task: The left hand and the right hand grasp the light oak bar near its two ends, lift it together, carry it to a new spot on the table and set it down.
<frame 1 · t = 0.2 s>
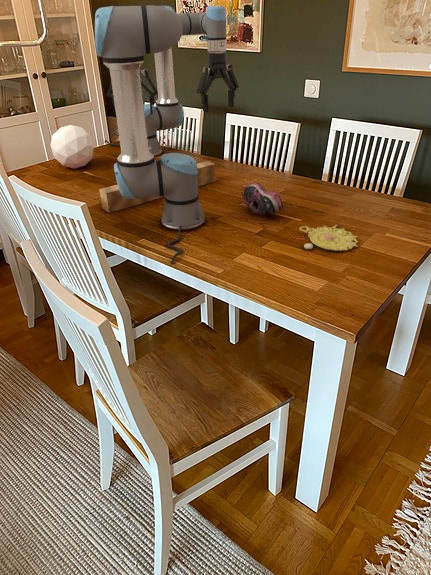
left hand: (218, 109, 186), 27 cm above the table, tool pointing down, fingers open, 13 cm apart
right hand: (135, 114, 180), 28 cm above the table, tool pointing down, fingers open, 13 cm apart
bar: (162, 194, 180), on the table
athletic shoe: (257, 211, 163), on the table
decorative object: (328, 239, 142), on the table
sphere: (76, 166, 214), on the table
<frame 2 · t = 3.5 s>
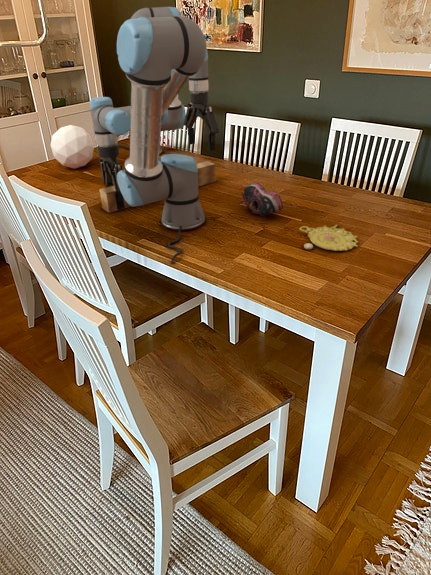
left hand: (201, 147, 183), 15 cm above the table, tool pointing down, fingers open, 13 cm apart
right hand: (117, 206, 169), 1 cm above the table, tool pointing down, fingers closed on bar, 6 cm apart
bar: (162, 194, 180), on the table, touching right hand
everything else where it was.
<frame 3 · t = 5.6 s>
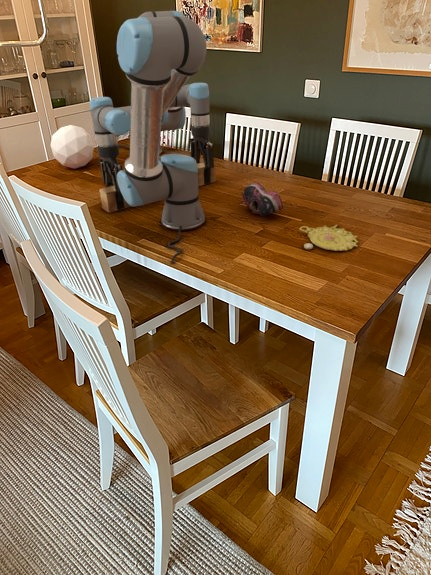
left hand: (202, 181, 190), 1 cm above the table, tool pointing down, fingers closed on bar, 6 cm apart
right hand: (117, 206, 169), 1 cm above the table, tool pointing down, fingers closed on bar, 6 cm apart
bar: (162, 194, 180), on the table, touching right hand, left hand
everything else where it was.
when the left hand's fingers open (2 cm above the table, at t = 13.5 s): bar stays where it is, on the table.
when the right hand's fingers open (2 cm above the table, at t = 13.5 s): bar stays where it is, on the table.
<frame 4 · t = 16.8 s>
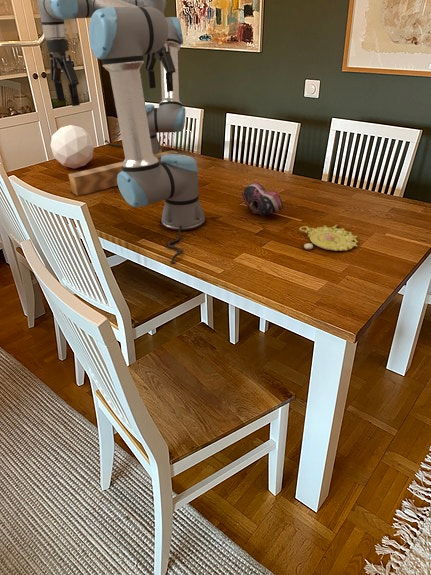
left hand: (161, 89, 188), 35 cm above the table, tool pointing down, fingers open, 13 cm apart
right hand: (68, 103, 167), 35 cm above the table, tool pointing down, fingers open, 13 cm apart
bar: (129, 180, 196), on the table
everything else where it was.
at the end: bar inside the target area (0.1 cm from its centre), on the table; bar tilted 0°; bar never tilted more than 2° during the clip; both hands held the bar at the same time; the left hand is holding nothing; the right hand is holding nothing; bar at rest at the end (0.0 cm/s) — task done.
